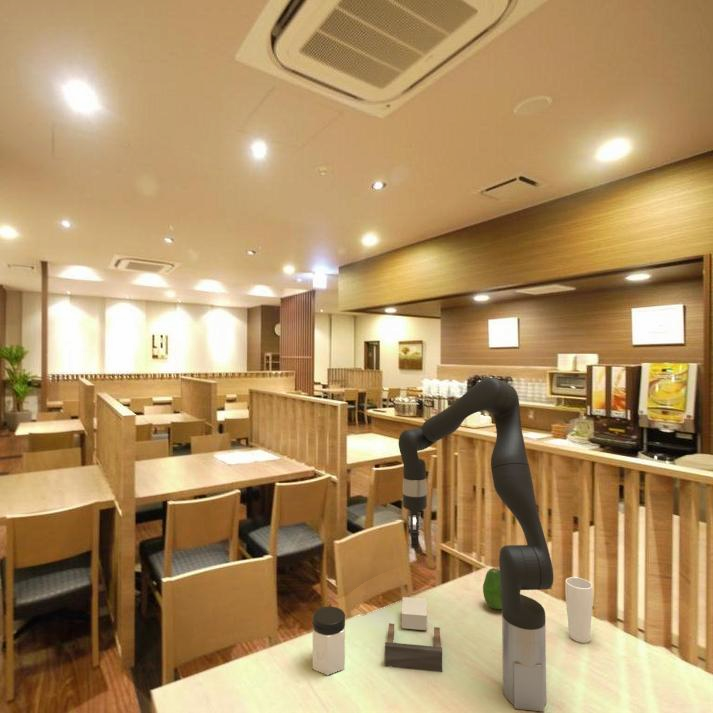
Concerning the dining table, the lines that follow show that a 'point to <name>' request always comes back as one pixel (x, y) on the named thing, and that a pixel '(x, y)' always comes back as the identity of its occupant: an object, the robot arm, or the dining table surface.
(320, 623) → the jar
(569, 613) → the drinking glass
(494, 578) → the avocado
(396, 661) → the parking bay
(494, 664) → the dining table surface
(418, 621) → the white rectangular block
